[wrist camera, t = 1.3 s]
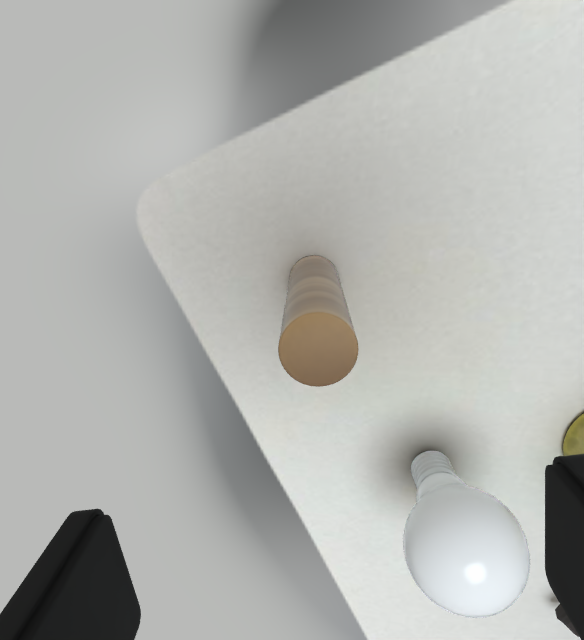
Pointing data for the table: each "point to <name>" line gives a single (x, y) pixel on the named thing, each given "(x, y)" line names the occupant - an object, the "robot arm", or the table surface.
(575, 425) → the vase
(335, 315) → the tan cylinder
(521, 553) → the lightbulb
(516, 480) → the table surface
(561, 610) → the zombie figurine
